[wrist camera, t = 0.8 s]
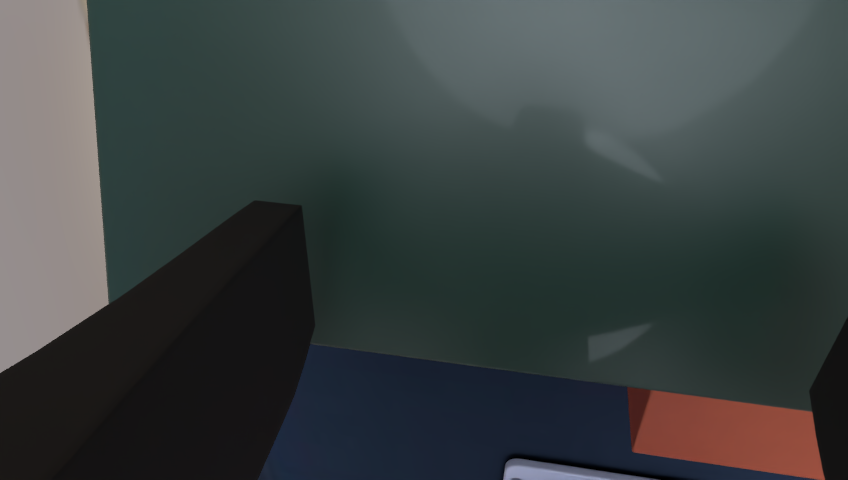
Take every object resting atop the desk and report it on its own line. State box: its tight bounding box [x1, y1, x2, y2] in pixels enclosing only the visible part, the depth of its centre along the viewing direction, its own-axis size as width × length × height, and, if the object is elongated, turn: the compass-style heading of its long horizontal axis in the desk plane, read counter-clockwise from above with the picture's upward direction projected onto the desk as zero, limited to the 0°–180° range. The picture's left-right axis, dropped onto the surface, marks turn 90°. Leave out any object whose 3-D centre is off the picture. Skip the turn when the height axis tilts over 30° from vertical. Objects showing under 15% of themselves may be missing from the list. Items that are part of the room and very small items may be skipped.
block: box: [627, 387, 825, 480], centre depth 19 cm, size 5×5×5 cm
